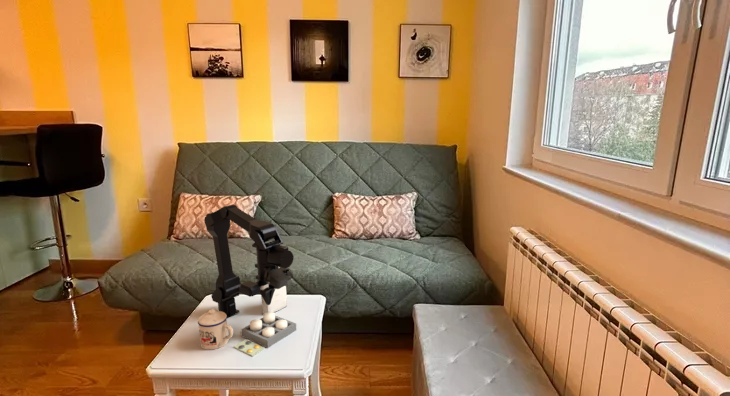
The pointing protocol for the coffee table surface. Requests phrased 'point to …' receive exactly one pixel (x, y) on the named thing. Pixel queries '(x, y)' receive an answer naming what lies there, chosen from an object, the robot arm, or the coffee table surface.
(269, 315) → the button
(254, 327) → the button
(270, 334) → the button
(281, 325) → the button
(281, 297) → the photo printer
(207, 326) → the teacup with lid
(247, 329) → the lights out board
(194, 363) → the coffee table surface
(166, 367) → the coffee table surface
